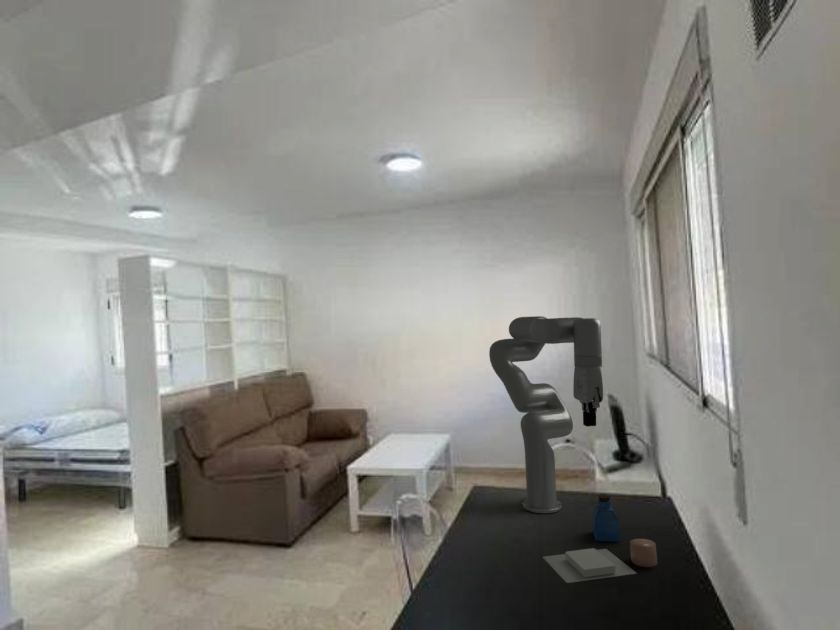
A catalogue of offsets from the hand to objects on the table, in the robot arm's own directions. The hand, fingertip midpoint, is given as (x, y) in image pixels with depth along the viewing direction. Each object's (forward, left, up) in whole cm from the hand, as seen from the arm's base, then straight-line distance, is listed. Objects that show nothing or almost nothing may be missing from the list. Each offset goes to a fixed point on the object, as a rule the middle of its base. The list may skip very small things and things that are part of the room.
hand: (589, 425), depth 150 cm
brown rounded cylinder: (+19, +3, -31) cm, 37 cm away
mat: (+17, -11, -31) cm, 37 cm away
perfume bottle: (+3, +2, -32) cm, 32 cm away
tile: (+13, -11, -30) cm, 34 cm away
